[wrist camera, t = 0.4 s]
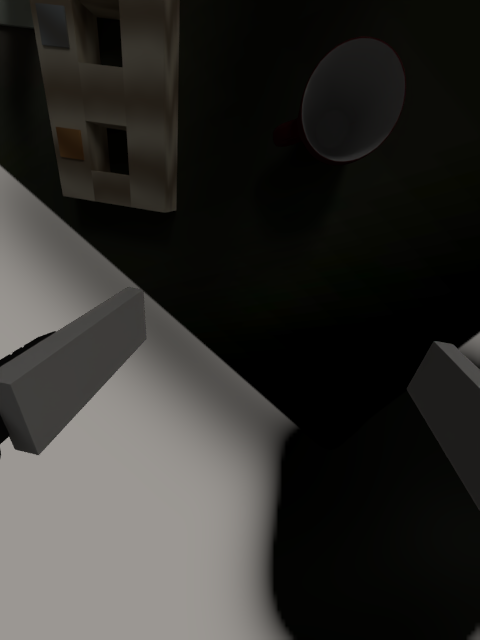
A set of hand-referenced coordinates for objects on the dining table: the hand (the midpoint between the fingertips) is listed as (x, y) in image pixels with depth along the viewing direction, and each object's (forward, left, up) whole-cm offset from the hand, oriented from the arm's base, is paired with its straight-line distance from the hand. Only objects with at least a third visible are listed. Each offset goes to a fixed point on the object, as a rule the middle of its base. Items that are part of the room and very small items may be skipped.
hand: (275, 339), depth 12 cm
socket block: (-13, -22, -27) cm, 37 cm away
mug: (-12, +2, -27) cm, 30 cm away
